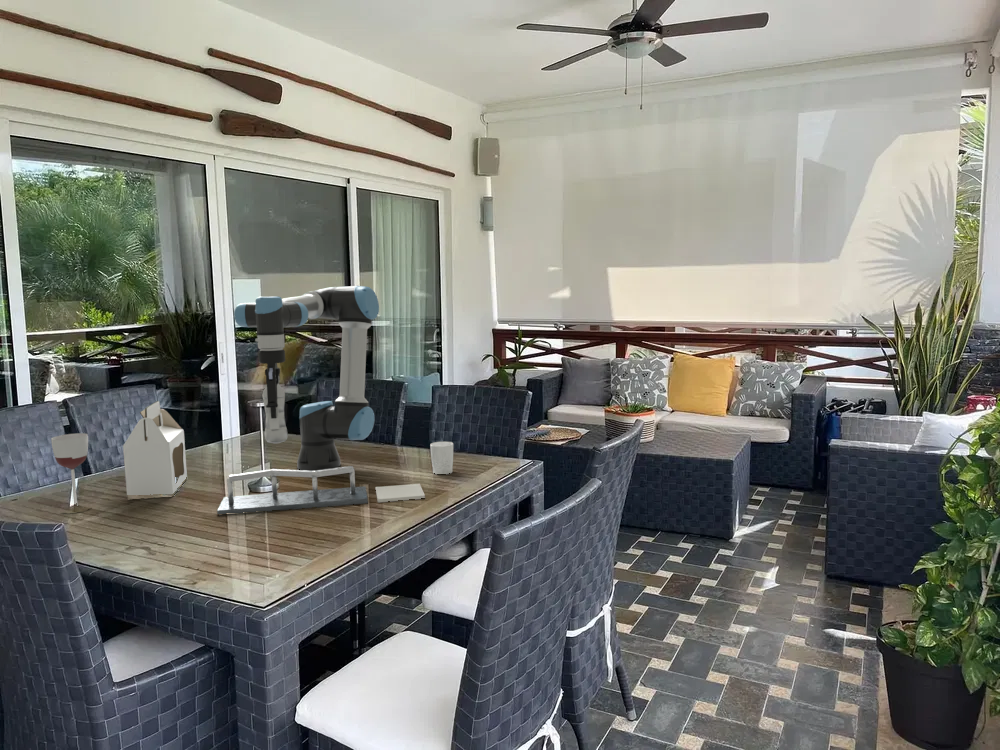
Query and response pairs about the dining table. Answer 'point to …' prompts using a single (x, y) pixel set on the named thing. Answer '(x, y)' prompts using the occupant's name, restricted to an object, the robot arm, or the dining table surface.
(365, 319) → the robot arm
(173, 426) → the gable box
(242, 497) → the grey platform with railing
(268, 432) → the plastic bottle
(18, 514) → the dining table surface
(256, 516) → the dining table surface
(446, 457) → the white cup
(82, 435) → the wineglass
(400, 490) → the pad
